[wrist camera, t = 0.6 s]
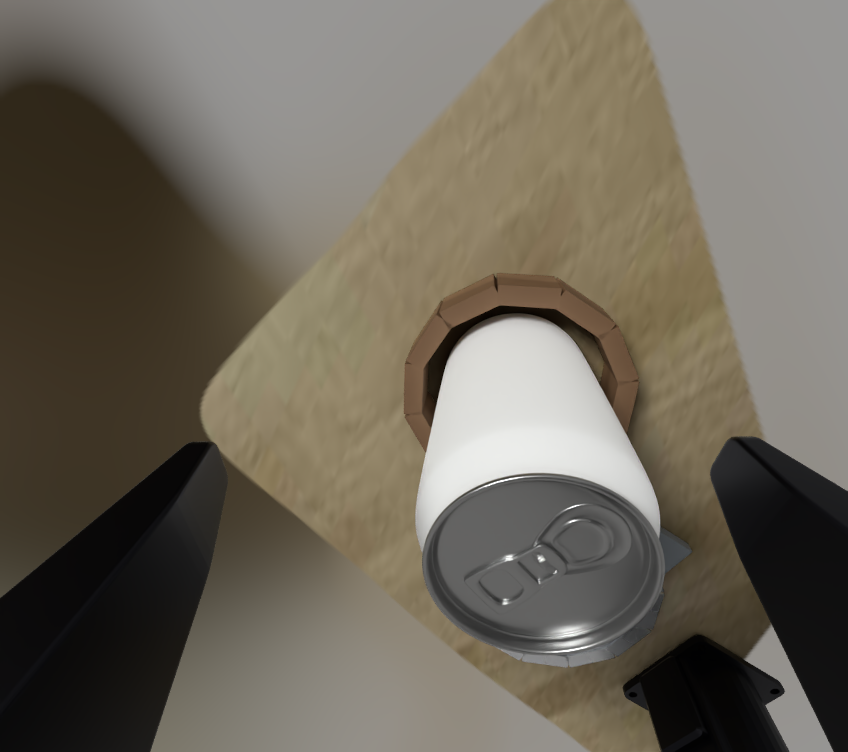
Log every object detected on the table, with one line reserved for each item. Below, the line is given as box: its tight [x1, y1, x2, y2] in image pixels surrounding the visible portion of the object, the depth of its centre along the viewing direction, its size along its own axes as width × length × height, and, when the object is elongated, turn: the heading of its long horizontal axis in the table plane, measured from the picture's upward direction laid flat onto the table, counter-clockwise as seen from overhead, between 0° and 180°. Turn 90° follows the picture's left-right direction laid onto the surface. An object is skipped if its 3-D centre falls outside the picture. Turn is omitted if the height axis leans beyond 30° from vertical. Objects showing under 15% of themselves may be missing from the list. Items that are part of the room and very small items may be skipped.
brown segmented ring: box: [404, 273, 639, 452], centre depth 21 cm, size 10×10×2 cm
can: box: [415, 313, 665, 656], centre depth 16 cm, size 6×6×12 cm
